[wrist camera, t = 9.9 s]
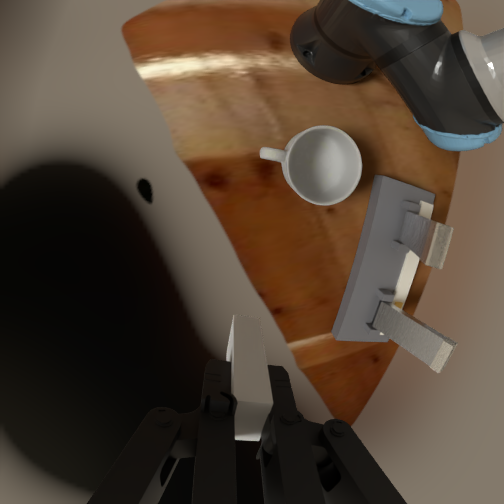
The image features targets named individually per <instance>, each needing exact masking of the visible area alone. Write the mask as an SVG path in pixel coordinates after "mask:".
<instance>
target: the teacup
mask: <svg viewBox="0 0 504 504" xmlns="http://www.w3.org/2000/svg"><path fill="white" fill-rule="evenodd" d="M260 157H261V158H263V159H268V160H273V161H278V162H281V163H282V170H283V174H284V177H285V179H286V181H287V182H288V184H289V185H290V186H291V188H292V189H293V190H294V191H296V193H297V194H298V195H300V196H301V197H302V198H303V199H305V200H307V201H309V202H311V203H313V204H317V205H332V204H336V203H339V202H341V201H342V200H344V199H346V198H347V197H348V196H349V195H350V194H351V193H352V192H353V191H354V190H355V188H356V186H357V185H358V182H359V180H360V177H361V172H362V159H361V154H360V152H359V149H358V147H357V145H356V143H355V142H354V141H353V139H352V138H351V137H350V136H349V135H348V134H346V133H345V132H344V131H342V130H340V129H338V128H335V127H333V126H325V125H322V126H314V127H312V128H309V129H307V130H305V131H302V132H300V133H299V134H297V135H296V136H294V137H293V138H292V139H291V140H290V141H289V143H288V144H287V146H286V147H285V150H280V149H275V148H269V147H262V148H261V150H260Z"/></svg>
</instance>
